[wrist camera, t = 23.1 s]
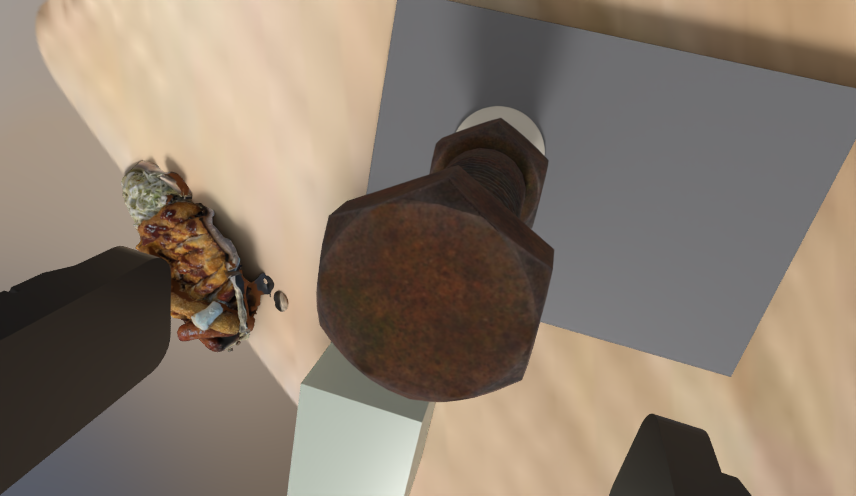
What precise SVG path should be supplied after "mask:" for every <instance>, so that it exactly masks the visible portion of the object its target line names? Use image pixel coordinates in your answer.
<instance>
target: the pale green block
mask: <svg viewBox="0 0 856 496" xmlns="http://www.w3.org/2000/svg"><path fill="white" fill-rule="evenodd" d="M434 406H435V402H426V401H418V400H411V399H408V398H405V397H403V396H401V395H398V394H396V393H394V392H391V391H389V390H387V389H385V388H383V387H382V386H380V385H378V384H377V383H375V382H373V381H371V380H370V379H369V378H367V377H366V376H365V375H364V374H362V373H361V372H360V371H359V370H357V369H356V368H355V367H354V366H353V365H352V364H351V363H350V362H349V361H348V360H347V359H346V358H345V357H344V356H343V355H342V354H341V353H340V351H339V350H338V349H337V348H336V347H335V346H334V344H333V343H332V342H331V344H330V345H329V346H328V348H327V349H326V351H325V352H324V353H323V355H322V356H321V357H320V359H319V360H318V361H317V363H316V364H315V365H314V367H313V368H312V369H311V371H310V372H309V373H308V375H307V376H306V377H305V379H304V380H303V381H302V383H301V387H300V395H299V403H298V412H297V420H296V428H295V436H294V445H293V452H292V460H291V469H290V477H289V485H288V493H287V496H409V494H410V491H411V488H412V485H413V482H414V479H415V476H416V473H417V470H418V467H419V464H420V461H421V458H422V454H423V450H424V446H425V442H426V438H427V434H428V430H429V426H430V422H431V418H432V414H433V410H434Z"/></svg>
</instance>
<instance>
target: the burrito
mask: <svg viewBox="0 0 856 496" xmlns="http://www.w3.org/2000/svg"><path fill="white" fill-rule="evenodd" d="M121 185H122V189H123V197H124V199H125V204H126V206H127V208H128V210H129V213H130V215H131V216H132V218H133V219H134V221H135V224H133V226H134V227H135V228H136V229H137V230H138V233H139V235H140V238H141V241H140V243H139V244H138V245H137V246H136V249H137V250H139V251H140V252H143V253H147V254H150V255H153V256H156V257H159V258H162V259H164V260H166V261H167V262H168V264H169V266H170V270H171V316H172V317H173V318H178V319H181V320H183V321H184V322H185V324H183V325H181V326H180V327H179V329H178V331H177V334H178V337H179V340H180V341H190V340H194V339H199V340H200V341H201V342H202V343H203V344H205V346H206V347H207V348H208V349H210V350H212V351H214V352H221V351H225V350H227V349H228V352H231V351H233V349H232V348H231V347H232V346H233V345H235V343H236V342H237V343H236V345H237V346H238V345H239V344H240V341H242V340H247V339H248V338H249V335H250V334H249V332H250V331H252V330H253V327H254V322H255V319H254V314H257V313H256V311H257V306H259V305H260V296H261V295H263V294H270V293H271V291H272V289H273V287H274V282H273V280H272V279H271V278H270V277H269V276H266V275H265V273H262V274H260V276H259V277H258V278H257V279H256V280H254V281H253V282H252V283H251V282H248V280H246V279H245V278H244V277H243V276H242V270H241V267H242V265H241V264H240V258H239V256H238V254H237V250H236V248H235V247H234V245H233V243H232V242H231V240H230V239H227V238H224V237H223V236H222V234H221V233H220V232H219V230H218V229H217V228H216V227H215V226H214V225H213V224H212V216H214V215H215V214H214V210H212V209H210V208H208V207H205V206H204V205H203V204H202V203H195V204H194V203H193V202H192V192H191V190H190V189H189V187H188V186H187V184H186V183H185V181H184V180H183V179H182V178H181V176H179V175H178V174H177V173H175V172H168V173H165V172H163V171H162V170H161V169H160V168H159V167H158V166H157V165H156V164H154V163H151V162H146V161H143V160H142V161H141V162H139V163H138V164H137V165H136V166H135V167H133V168H132V169H131V170H130V171H129V172H128V173H127V174H126V175H125V176H124V177H123V179H122V182H121ZM202 211H203V212H202ZM264 278H265V279H266V280H267V282H268V283H267V284H265V283H264V281H263V279H264ZM270 297H271V294H270ZM274 301H275V306H276V308H277V309H278V310H279V311H281V312H283V311H285V310H287V307H288V299H287V297H286V296H285V295H284V294H283V293H282V292H280V291H279V292H275V294H274ZM229 348H231V349H229Z"/></svg>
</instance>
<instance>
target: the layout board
mask: <svg viewBox="0 0 856 496" xmlns="http://www.w3.org/2000/svg"><path fill="white" fill-rule="evenodd" d="M498 118H502V119H504V120H505V121H506V122H508V123H509V124H510V125H511V126H513V127H514V128H515V129H516V130H518V131H519V132H520V133H521V134H522V135H523V136H525V137H526V138H527V139H528V140H529V141H530V142H531V143H532V144H533V145H534V146H535V147H536V148H537V149H538V150H539V151H540V152H541V153H542V154H543V155H544V156H545V157H546V158H547V159H548V160H549V162H548V168H547V173H546V177H545V181H544V185H543V189H542V193H541V197H540V201H539V205H538V209H537V213H536V217H535V220H534V224H533V228H532V230H533V231H534V232H535V233H536V234H537V235H538V236H540V237H541V238H542V239H543V240H544V241H545V242H546V243H548V244H549V245H550V246H551V247H552V248H553V249H554V262H553V271H552V276H551V280H550V284H549V289H548V293H547V298H546V302H545V305H544V309H543V313H542V316H541V320H540V322H543V323H546V324H550V325H553V326H556V327H560V328H563V329H567V330H570V331H574V332H577V333H581V334H584V335H588V336H591V337H595V338H598V339H601V340H605V341H608V342H612V343H615V344H619V345H622V346H626V347H629V348H633V349H636V350H639V351H643V352H646V353H650V354H653V355H657V356H660V357H664V358H667V359H671V360H674V361H677V362H681V363H684V364H688V365H691V366H695V367H698V368H702V369H705V370H709V371H712V372H716V373H719V374H722V375H726V376H729V377H731V375H732V374H733V372H734V370H735V368H736V366H737V364H738V362H739V360H740V358H741V356H742V355H743V353H744V351H745V349H746V347H747V345H748V343H749V341H750V339H751V337H752V336H753V334H754V332H755V330H756V328H757V326H758V324H759V322H760V320H761V318H762V317H763V315H764V313H765V311H766V309H767V307H768V305H769V303H770V301H771V299H772V298H773V296H774V294H775V292H776V290H777V288H778V286H779V284H780V282H781V280H782V279H783V277H784V275H785V273H786V271H787V269H788V267H789V265H790V263H791V261H792V259H793V258H794V256H795V254H796V252H797V250H798V248H799V246H800V244H801V242H802V240H803V239H804V237H805V235H806V233H807V231H808V229H809V227H810V225H811V223H812V221H813V220H814V218H815V216H816V214H817V212H818V210H819V208H820V206H821V204H822V202H823V201H824V199H825V197H826V195H827V193H828V191H829V189H830V187H831V185H832V183H833V182H834V180H835V178H836V176H837V174H838V172H839V170H840V168H841V166H842V164H843V163H844V161H845V159H846V157H847V155H848V153H849V151H850V149H851V147H852V145H853V144H854V142H855V140H856V88H852V87H847V86H842V85H838V84H833V83H828V82H824V81H819V80H814V79H810V78H805V77H801V76H796V75H791V74H787V73H782V72H777V71H773V70H768V69H763V68H759V67H754V66H749V65H745V64H740V63H736V62H731V61H726V60H722V59H717V58H712V57H708V56H703V55H698V54H694V53H689V52H685V51H680V50H675V49H671V48H666V47H661V46H657V45H652V44H647V43H643V42H638V41H633V40H629V39H624V38H620V37H615V36H610V35H606V34H601V33H596V32H592V31H587V30H582V29H578V28H573V27H568V26H564V25H559V24H555V23H550V22H545V21H541V20H536V19H531V18H527V17H522V16H517V15H513V14H508V13H503V12H499V11H494V10H490V9H485V8H480V7H476V6H471V5H466V4H462V3H457V2H452V1H448V0H397V4H396V11H395V17H394V23H393V30H392V36H391V42H390V49H389V55H388V61H387V68H386V74H385V80H384V86H383V93H382V99H381V105H380V112H379V118H378V124H377V131H376V137H375V143H374V149H373V156H372V162H371V168H370V175H369V181H368V187H367V194H370V193H373V192H376V191H380V190H383V189H386V188H389V187H392V186H395V185H398V184H401V183H404V182H407V181H410V180H413V179H416V178H419V177H422V176H426V175H429V173H430V168H431V162H432V158H433V153H434V149H435V145H436V143H437V142H438V141H439V140H440V139H441V138H443V137H445V136H448V135H451V134H453V133H456V132H458V131H461V130H464V129H466V128H469V127H472V126H475V125H478V124H481V123H484V122H487V121H491V120H494V119H498ZM367 194H366V195H367Z"/></svg>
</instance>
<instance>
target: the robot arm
mask: <svg viewBox="0 0 856 496" xmlns="http://www.w3.org/2000/svg"><path fill="white" fill-rule="evenodd" d="M170 325H171V270H170V266H169V264H168V262H167V261H166V260H164V259H162V258H159V257H156V256H153V255H150V254H147V253H143V252H140V251H137V250H134V249H130V248H128V247H124V246H117V247H114V248H111V249H110V250H107V251H105V252H103V253H101V254H99V255H96V256H94V257H92V258H90V259H88V260H86V261H84V262H82V263H79V264H77V265H75V266H71V267H67V268H62V269H58V270H54V271H50V272H45V273H42V274H40V275H38V276H35V277H33V278H31V279H29V280H27V281H24V282H22V283H20V284H18V285H16V286H13V287H11V289H10V291H9V292H7V291H2V292H0V495H1V494H2V493H3V492H4V491H5V490H7V489H8V488H9V487H10V486H12V485H13V484H14V483H15V482H17V481H18V480H19V479H20V478H22V477H23V476H24V475H25V474H27V473H28V472H29V471H30V470H31V469H32V468H34V467H35V466H36V465H38V464H39V463H40V462H41V461H42V460H44V459H45V458H46V457H48V456H49V455H50V454H51V453H53V452H54V451H55V450H56V449H57V448H59V447H60V446H61V445H62V444H64V443H65V442H66V441H67V440H68V439H70V438H71V437H72V436H74V435H75V434H76V433H77V432H78V431H80V430H81V429H82V428H83V427H85V426H86V425H87V424H88V423H90V422H91V421H92V420H93V419H94V418H96V417H97V416H98V415H100V414H101V413H102V412H103V411H104V410H106V409H107V408H108V407H109V406H111V405H112V404H113V403H114V402H116V401H117V400H118V399H119V398H120V397H122V396H123V395H124V394H126V393H127V392H128V391H129V390H130V389H132V388H133V387H134V386H135V385H137V384H138V383H139V382H140V381H141V380H143V379H144V378H145V377H147V375H149V374H150V373H151V372H153V371H154V369H155V368H156V367H157V366H158V365H159V364H160V362H161V361H162V359H163V358H164V356H165V354H166V351H167V349H168V346H169V342H170V331H171V330H170V329H171V328H170V327H171V326H170ZM609 496H751V494H750V493H749V492H748V490H747V489H746V488H745V487H744V485H743V484H742V483H741V482H740V480H739V479H738V478H736V477H733V476H730V475H727V474H724V473H722V472H721V469H720V467H719V464H718V461H717V458H716V455H715V452H714V449H713V447H712V444H711V441H710V438H709V436H708V434H707V432H706V431H704V430H703V429H700V428H696V427H693V426H690V425H687V424H684V423H680V422H677V421H674V420H671V419H668V418H665V417H661V416H658V415H655V414H649V415H648V416H647V417H646V418H645V419H644V421H643V422H642V424H641V426H640V428H639V430H638V433H637V435H636V437H635V439H634V441H633V443H632V445H631V448H630V450H629V452H628V454H627V456H626V458H625V460H624V462H623V465H622V467H621V469H620V471H619V473H618V475H617V477H616V480H615V482H614V484H613V486H612V489H611V491H610V494H609Z"/></svg>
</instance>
